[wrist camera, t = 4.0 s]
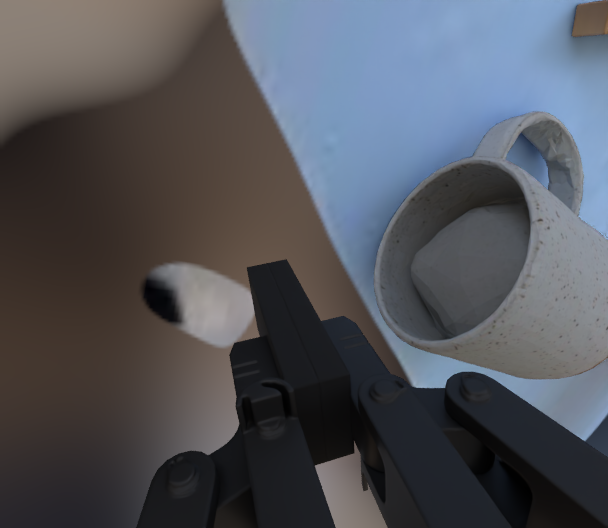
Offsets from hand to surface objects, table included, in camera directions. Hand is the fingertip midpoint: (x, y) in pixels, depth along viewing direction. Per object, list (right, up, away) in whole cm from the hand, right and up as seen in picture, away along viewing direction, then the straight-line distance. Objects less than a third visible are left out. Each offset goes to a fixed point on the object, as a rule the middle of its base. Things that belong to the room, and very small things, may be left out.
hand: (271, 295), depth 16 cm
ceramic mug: (+9, +3, +5) cm, 11 cm away
